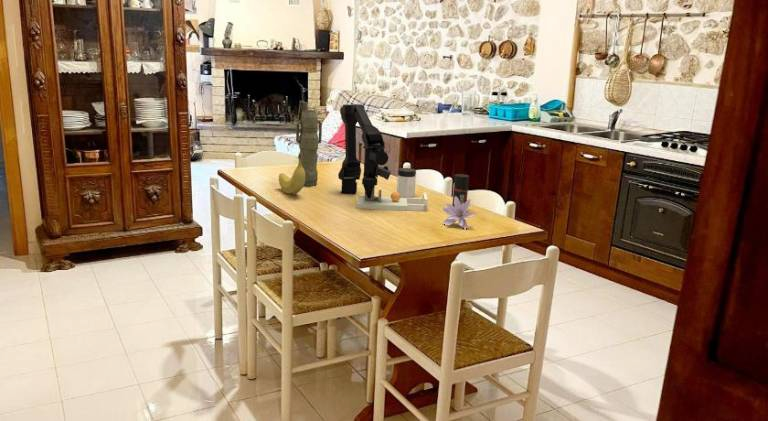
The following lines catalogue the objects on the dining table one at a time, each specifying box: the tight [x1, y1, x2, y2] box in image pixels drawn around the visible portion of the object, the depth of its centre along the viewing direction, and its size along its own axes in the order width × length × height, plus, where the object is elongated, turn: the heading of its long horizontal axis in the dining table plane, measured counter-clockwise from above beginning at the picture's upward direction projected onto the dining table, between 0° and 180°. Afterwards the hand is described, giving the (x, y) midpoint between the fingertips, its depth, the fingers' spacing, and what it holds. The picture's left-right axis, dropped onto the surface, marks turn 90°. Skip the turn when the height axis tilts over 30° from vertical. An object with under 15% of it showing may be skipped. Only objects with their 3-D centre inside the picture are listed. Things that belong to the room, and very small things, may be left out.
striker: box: [364, 186, 382, 202], centre depth 260 cm, size 7×7×6 cm
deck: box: [356, 195, 408, 212], centre depth 261 cm, size 21×14×2 cm, turn 90°
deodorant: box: [451, 173, 470, 207], centre depth 257 cm, size 6×6×15 cm
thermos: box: [295, 109, 323, 188], centre depth 286 cm, size 9×12×35 cm
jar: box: [396, 167, 417, 198], centre depth 279 cm, size 9×8×12 cm
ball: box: [390, 191, 401, 201], centre depth 260 cm, size 4×4×4 cm
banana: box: [278, 152, 305, 195], centre depth 270 cm, size 23×6×20 cm, turn 32°
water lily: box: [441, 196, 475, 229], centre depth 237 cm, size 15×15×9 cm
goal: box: [407, 192, 429, 212], centre depth 261 cm, size 8×12×5 cm
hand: (369, 197), depth 260 cm, fingers closed on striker, 4 cm apart
